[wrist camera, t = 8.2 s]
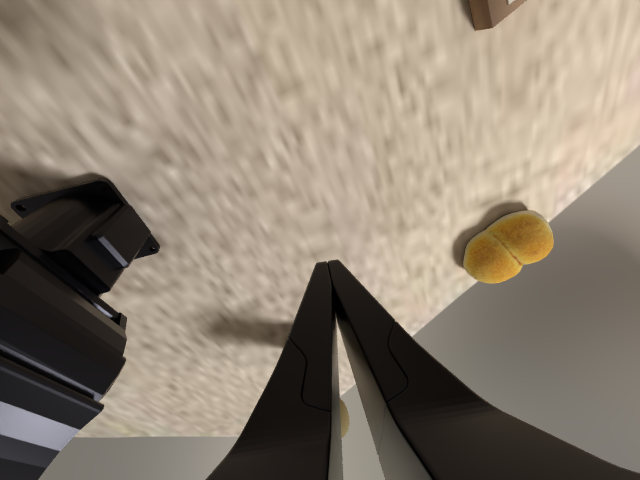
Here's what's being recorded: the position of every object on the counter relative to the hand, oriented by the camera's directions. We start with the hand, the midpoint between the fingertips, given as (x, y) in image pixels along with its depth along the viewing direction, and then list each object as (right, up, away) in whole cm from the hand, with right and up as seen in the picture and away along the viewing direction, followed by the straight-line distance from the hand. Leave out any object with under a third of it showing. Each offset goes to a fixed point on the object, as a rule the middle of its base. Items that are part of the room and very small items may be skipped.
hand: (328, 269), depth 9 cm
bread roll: (+20, +1, +19) cm, 28 cm away
